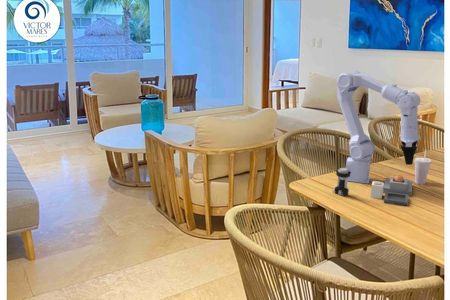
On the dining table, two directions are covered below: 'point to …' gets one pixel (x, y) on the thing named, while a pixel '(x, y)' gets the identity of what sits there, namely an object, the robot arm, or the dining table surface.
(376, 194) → the block
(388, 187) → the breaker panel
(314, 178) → the dining table surface
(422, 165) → the smoothie
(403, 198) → the tray
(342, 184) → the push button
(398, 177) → the button
